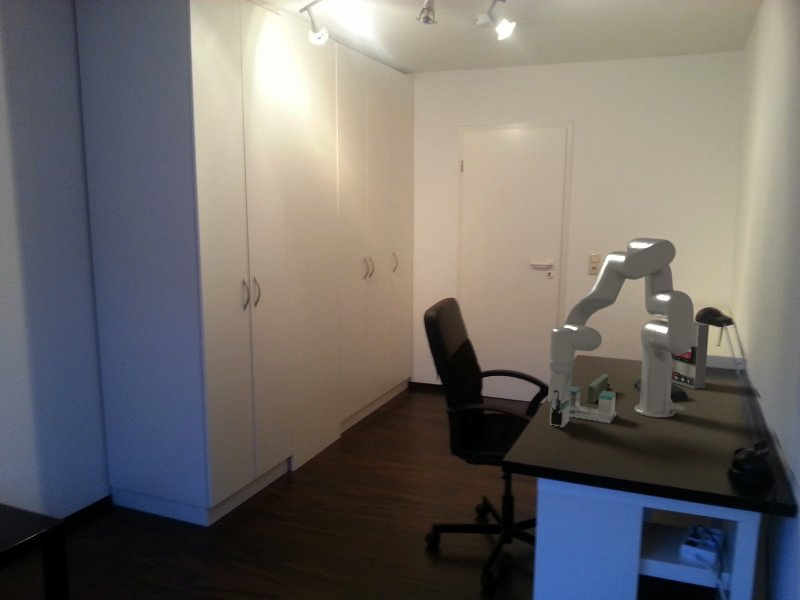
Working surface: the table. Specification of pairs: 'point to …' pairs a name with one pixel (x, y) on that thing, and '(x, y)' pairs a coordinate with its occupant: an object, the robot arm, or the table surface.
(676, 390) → the external hard drive
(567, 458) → the table surface
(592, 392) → the handheld radio
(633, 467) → the table surface
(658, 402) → the robot arm
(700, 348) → the grey printed box
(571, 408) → the rail plate
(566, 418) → the block
